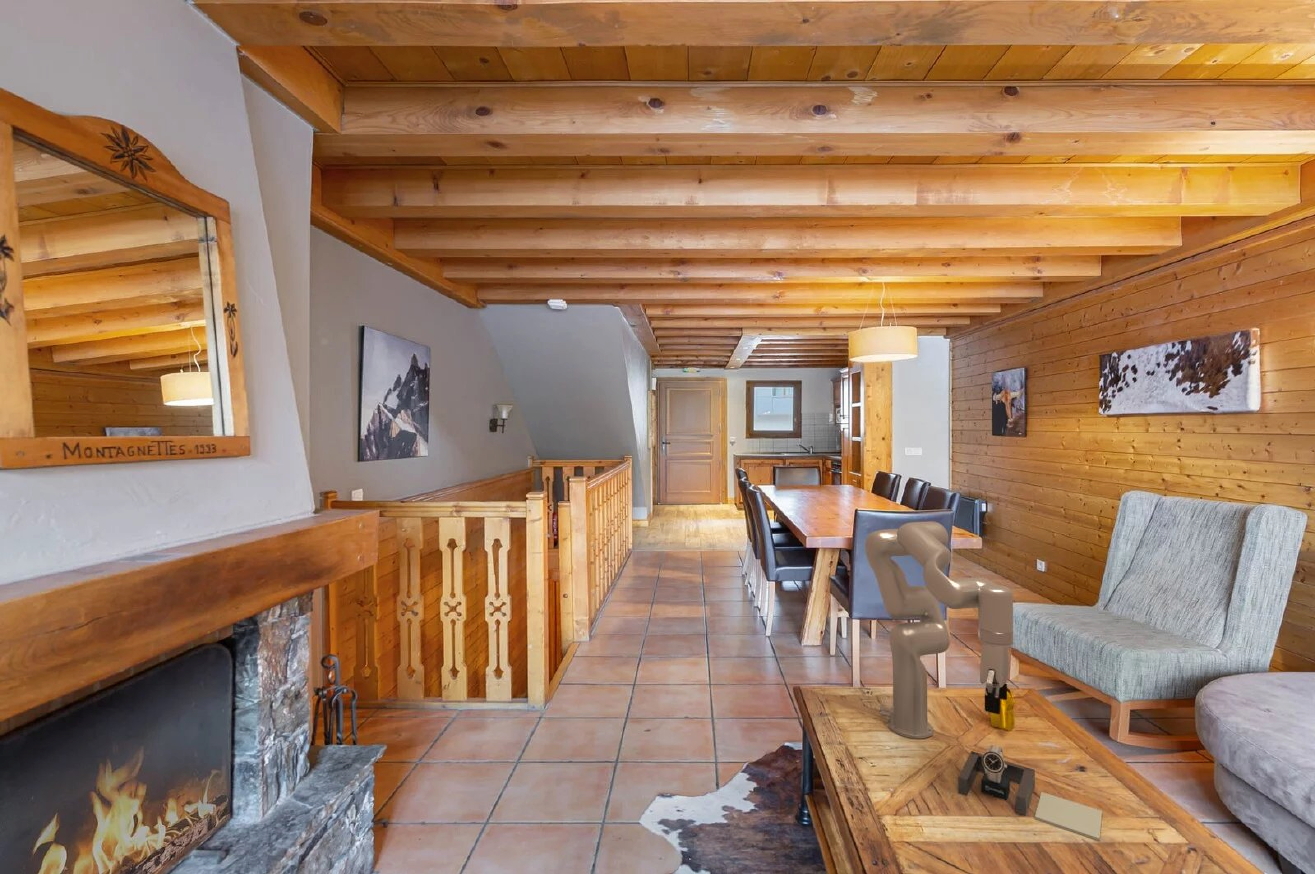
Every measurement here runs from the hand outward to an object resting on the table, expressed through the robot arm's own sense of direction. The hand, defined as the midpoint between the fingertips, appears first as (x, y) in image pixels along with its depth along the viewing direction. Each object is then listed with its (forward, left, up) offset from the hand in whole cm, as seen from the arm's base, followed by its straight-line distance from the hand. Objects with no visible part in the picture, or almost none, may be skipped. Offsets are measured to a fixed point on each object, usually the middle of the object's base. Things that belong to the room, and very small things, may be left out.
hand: (996, 705), depth 148 cm
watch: (0, 0, -22) cm, 22 cm away
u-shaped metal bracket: (0, +2, -22) cm, 22 cm away
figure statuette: (-5, +39, -22) cm, 45 cm away
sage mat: (+15, 0, -22) cm, 26 cm away
